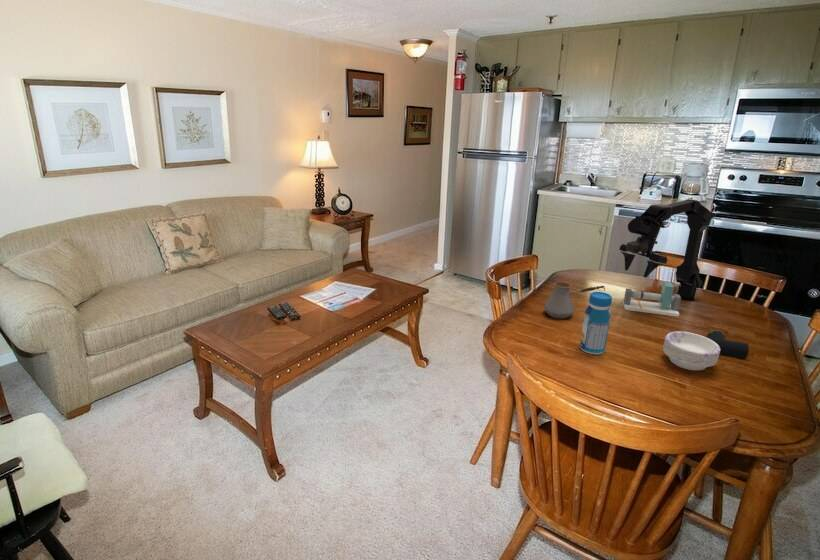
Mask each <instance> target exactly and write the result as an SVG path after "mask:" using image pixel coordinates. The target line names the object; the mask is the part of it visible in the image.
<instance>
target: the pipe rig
mask: <svg viewBox="0 0 820 560" xmlns="http://www.w3.org/2000/svg"><path fill="white" fill-rule="evenodd" d="M632 298H635V299H632ZM662 298H663V294H661V293H656V292H648V291H647V292H646V291H639V290H632V288H625V292H624V298H622V304H623V308H624V310H626V311H633V312H639V313H640V312H641V313H648V314H653V315H654V314H656V315H664V316H671V317H678V318H679V317H680V312H679V309H680V305H681V301H682V299H681V297H680V295H678V294H676V293H673V295H672V299H671V304H670V308H666V307H661V305H660V303H659V301H662ZM638 299H640V300H638ZM641 299H642V300H641ZM645 300H652V301H645ZM654 301H658V302H654Z"/></svg>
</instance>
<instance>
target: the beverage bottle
mask: <svg viewBox="0 0 820 560" xmlns="http://www.w3.org/2000/svg"><path fill="white" fill-rule="evenodd" d="M588 298H589V300H588V304H589V305H588V306H587V307H586V309H585V310H584V316H583V318H582V329H581V336H580V341H579V349H581V351H583V352H585V353H587V354H590V355H602V354H604V353H605V351H606V347H607V346H606V345H607V341H608V335H609V331H610V330H609V329H610V327H611V318H612V312H611V309H610V307H611V305H612V302H613V301H612V299H613V297H612V295H611V294H609V293H607V292H605V291H591V292H590V294H589V297H588Z"/></svg>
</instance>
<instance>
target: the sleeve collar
mask: <svg viewBox="0 0 820 560" xmlns="http://www.w3.org/2000/svg"><path fill="white" fill-rule="evenodd" d="M674 290H675V286H674V284H673V283H672V282H669V281H663V282H662V286H661V291H660V294H663V298H662V301H658V303H660V305H661V307H666V308H670V304H672V302H671V299H672V295H674Z"/></svg>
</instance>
